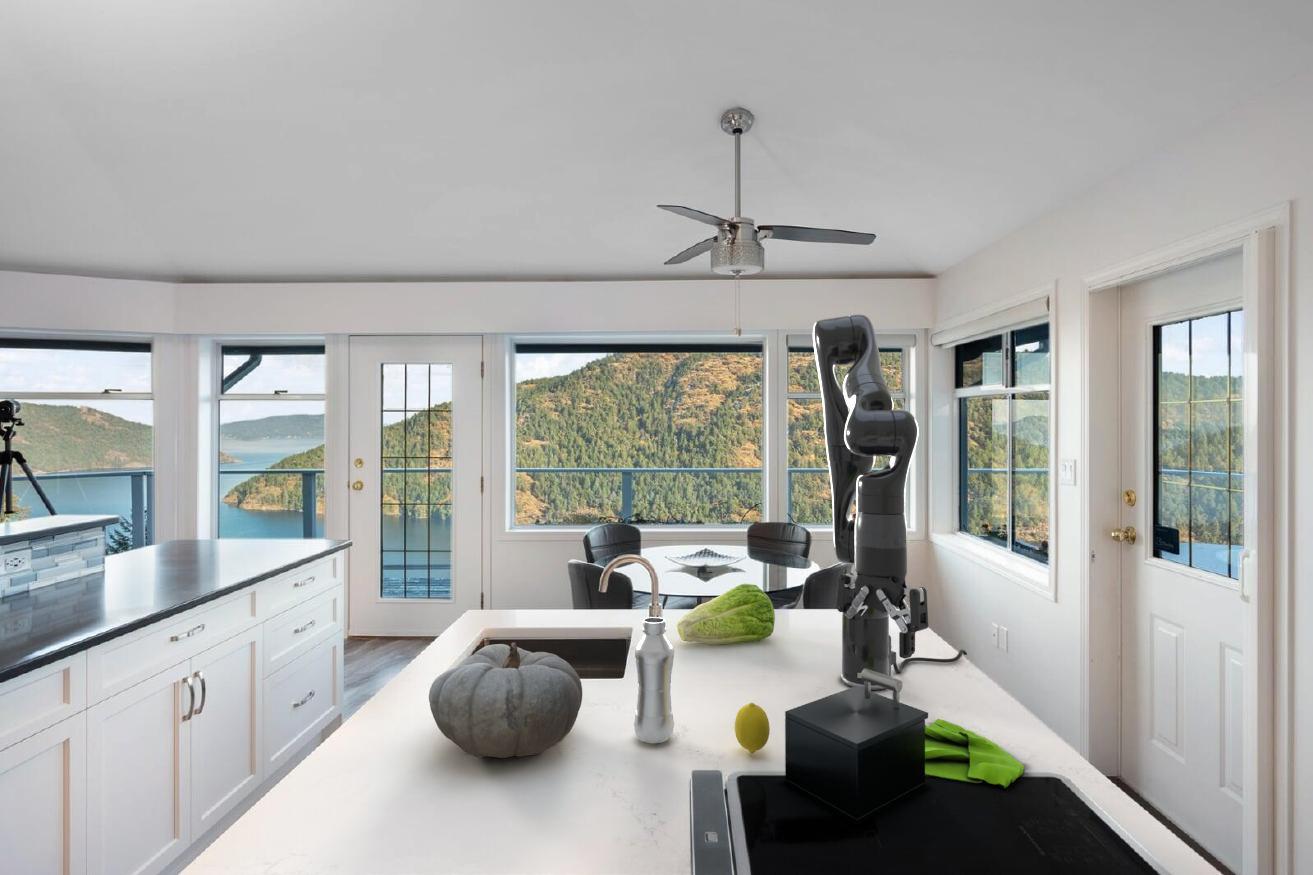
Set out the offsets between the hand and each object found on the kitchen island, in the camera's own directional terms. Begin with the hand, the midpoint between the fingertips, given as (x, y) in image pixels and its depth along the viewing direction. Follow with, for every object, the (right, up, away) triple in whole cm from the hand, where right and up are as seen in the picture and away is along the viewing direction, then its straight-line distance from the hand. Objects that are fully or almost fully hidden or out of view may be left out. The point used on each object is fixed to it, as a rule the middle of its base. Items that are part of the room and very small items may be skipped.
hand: (880, 649), depth 99 cm
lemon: (-18, -19, +6) cm, 27 cm away
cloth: (+13, -19, +7) cm, 24 cm away
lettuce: (-17, -19, +64) cm, 69 cm away
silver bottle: (-34, -19, +11) cm, 41 cm away
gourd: (-59, -19, +11) cm, 62 cm away
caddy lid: (-5, -9, -3) cm, 11 cm away
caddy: (-5, -19, -4) cm, 20 cm away
